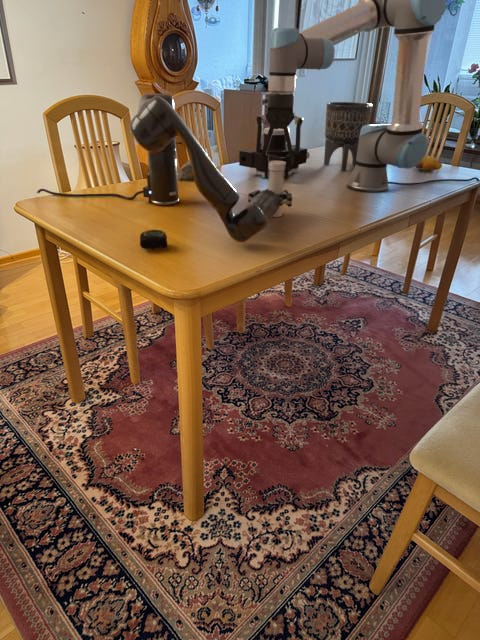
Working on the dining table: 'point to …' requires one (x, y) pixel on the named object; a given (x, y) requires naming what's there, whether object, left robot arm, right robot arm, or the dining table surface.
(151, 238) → the tape measure
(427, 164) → the toy
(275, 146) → the mechanical component
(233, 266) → the dining table surface
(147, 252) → the dining table surface
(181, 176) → the rock
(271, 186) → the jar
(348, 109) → the planter
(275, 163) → the white cylinder with groove
